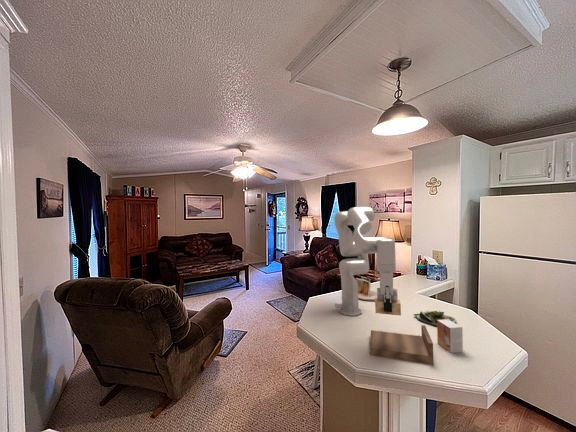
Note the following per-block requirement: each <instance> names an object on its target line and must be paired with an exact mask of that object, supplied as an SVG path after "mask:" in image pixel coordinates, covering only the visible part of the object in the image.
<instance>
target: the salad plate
mask: <svg viewBox="0 0 576 432" xmlns="http://www.w3.org/2000/svg"><path fill="white" fill-rule="evenodd" d="M413 316H415V317H416V318H417V321H419V322H421V323H422V324H424V325H429V326H432V327H435V328H437V320H446V319H449V320H450V321H452V322H454V323H455V324H456V322H457V319H456V318H455V317H453V316H450V315H446V314H445V312H444V311H440V310H438V311H437V310H432V311H431V310H430V311H429V310H427V311H420V312H419V313H414V314H413Z"/></svg>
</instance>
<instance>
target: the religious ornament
mask: <svg viewBox="0 0 576 432" xmlns="http://www.w3.org/2000/svg"><path fill="white" fill-rule="evenodd" d="M355 279H356V280H357V282H358V300H362V301H364V302H375V298H377V291H376V290H371V283H372V282H371V281H368V280H366V279H362V278H358V277H356V278H355Z"/></svg>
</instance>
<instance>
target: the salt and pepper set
mask: <svg viewBox="0 0 576 432" xmlns="http://www.w3.org/2000/svg"><path fill="white" fill-rule="evenodd" d="M376 292H377V298H375V301H374V304H375V305H374V306H375V307H374V308H375V310H374V311H375V314H379V315H382V314H383V315H391V316H402V307H401V301H400V299H398V297H399V296H398V289H397V288H394V287H393V295H392V296H391V302H392V312H384V295H381V294H380V287H377V288H376ZM389 295H390V294H389Z"/></svg>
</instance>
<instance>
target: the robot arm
mask: <svg viewBox="0 0 576 432" xmlns="http://www.w3.org/2000/svg"><path fill="white" fill-rule="evenodd" d="M375 216H376V215H375V212H374V209H373V208H371V207H369V206H354V207H350V208H349V209H348V210H343V211H338V212H336V213H335V214H334V218H333V219H334V227H335V229H336V231H337V235H338V243H339V251H340V254H341V256H342V257H354V258H345V259H342V260H341V261H339V263H338V267H339V273H340V283H341V284H340V285H341V302H340V303H334V307H335V308H336V309H339V313H340V314H341V315H343V316H349V317H358V316H360V315H362V309H361V308H359V307H360V305H359V299H358V282H357V280H356V278H355V277H354V276H356V275H366V274H368V273H369V271H370V261H369V255H370V254H376V266H377V267H376V270H377V272H379V288H380V294H381V295H384V312H392V302H391V296H392V295H393V288H394V273H396V272H397V267H396V266H397V264H396V262H397V260H396V242H395V240H394V239H393V238H388V237H385V236H371V237H370V236H369V237H366V236H365V237H364V235H366V234H368V233H369V232H370V231H371V229H372V228H373V227H372V226H373V224H372V222H373V221H374V219H375ZM348 226H353V228H354V230H353V231H352V230H351V228H349V227H348ZM356 257H357V258H356ZM389 294H390V295H389Z"/></svg>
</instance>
